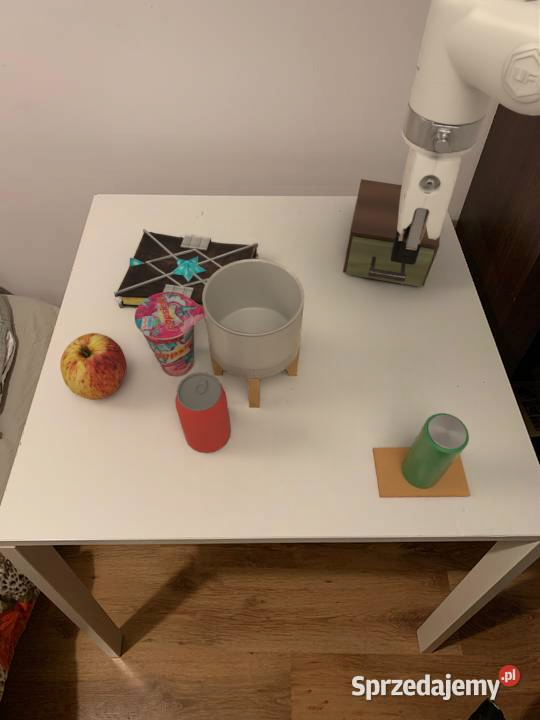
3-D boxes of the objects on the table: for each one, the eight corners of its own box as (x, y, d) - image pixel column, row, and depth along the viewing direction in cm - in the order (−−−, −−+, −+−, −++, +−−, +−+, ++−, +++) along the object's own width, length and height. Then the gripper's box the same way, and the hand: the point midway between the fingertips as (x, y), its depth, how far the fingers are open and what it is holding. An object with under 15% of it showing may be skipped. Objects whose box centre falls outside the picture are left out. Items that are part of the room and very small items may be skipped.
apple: (122, 415, 72) (103, 379, 64) (63, 407, 73) (38, 370, 65) (140, 365, 77) (126, 325, 69) (86, 358, 78) (64, 317, 70)
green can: (440, 457, 68) (470, 416, 58) (439, 492, 65) (470, 456, 55) (402, 449, 69) (425, 407, 59) (399, 484, 66) (423, 446, 56)
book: (258, 256, 91) (258, 235, 87) (240, 326, 82) (239, 306, 78) (146, 242, 93) (141, 221, 89) (116, 308, 84) (108, 288, 80)
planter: (210, 407, 73) (197, 334, 58) (217, 338, 80) (206, 257, 66) (297, 408, 73) (306, 335, 58) (295, 339, 80) (302, 259, 66)
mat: (456, 448, 70) (458, 446, 69) (469, 496, 66) (470, 495, 65) (372, 449, 69) (373, 447, 69) (379, 497, 65) (380, 496, 65)
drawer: (419, 304, 84) (432, 272, 77) (342, 291, 85) (348, 257, 79) (425, 236, 94) (436, 202, 87) (355, 225, 95) (362, 191, 89)
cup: (164, 394, 74) (148, 347, 64) (142, 355, 78) (125, 305, 68) (218, 368, 77) (212, 320, 67) (195, 332, 81) (185, 281, 71)
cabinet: (423, 286, 87) (439, 245, 80) (342, 272, 89) (350, 231, 81) (427, 233, 96) (442, 191, 88) (353, 221, 97) (361, 179, 89)
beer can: (236, 419, 72) (232, 375, 62) (222, 460, 68) (215, 419, 58) (194, 408, 73) (183, 363, 63) (178, 448, 69) (164, 406, 59)
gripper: (481, 171, 45) (429, 305, 60) (479, 91, 53) (433, 226, 68) (398, 160, 46) (367, 295, 61) (409, 84, 54) (379, 219, 69)
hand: (402, 258), depth 64 cm, fingers closed
